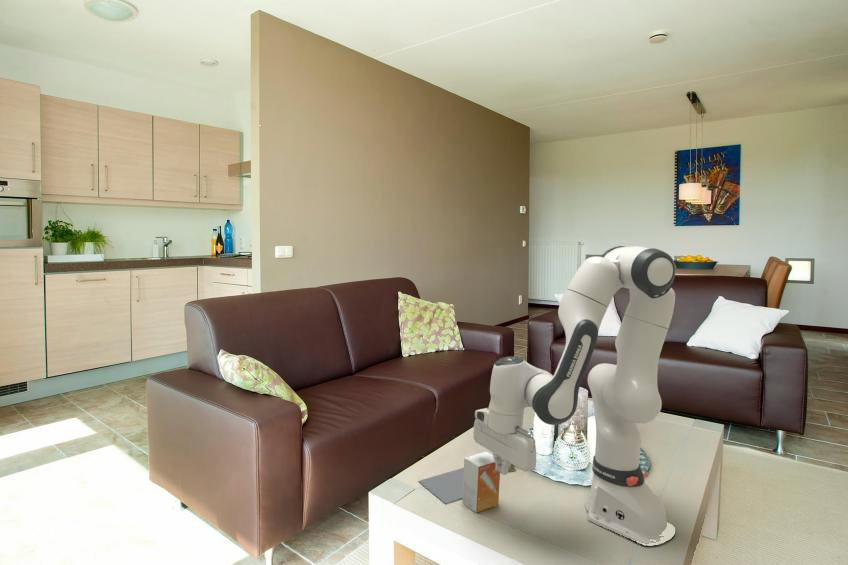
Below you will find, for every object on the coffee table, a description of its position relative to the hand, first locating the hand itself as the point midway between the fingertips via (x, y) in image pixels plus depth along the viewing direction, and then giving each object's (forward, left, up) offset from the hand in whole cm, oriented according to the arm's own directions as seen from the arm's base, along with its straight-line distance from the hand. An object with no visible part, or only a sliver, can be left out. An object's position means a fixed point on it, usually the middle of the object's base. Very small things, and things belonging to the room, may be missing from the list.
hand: (501, 472), depth 126 cm
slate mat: (+20, -2, -13) cm, 24 cm away
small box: (+8, -1, -13) cm, 16 cm away
